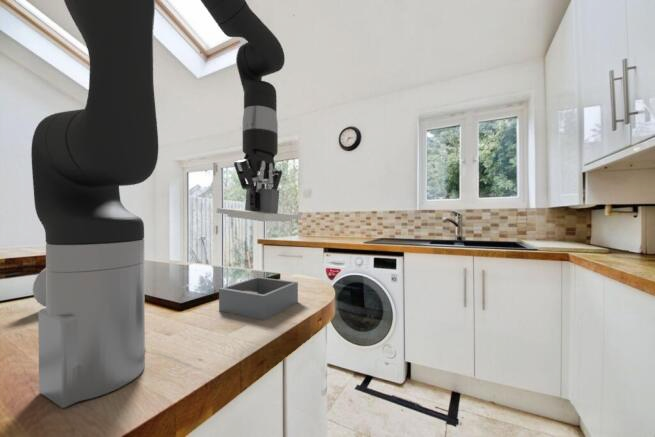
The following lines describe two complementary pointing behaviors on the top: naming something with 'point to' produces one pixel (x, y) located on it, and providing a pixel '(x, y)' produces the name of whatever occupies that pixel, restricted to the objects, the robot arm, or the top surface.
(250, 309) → the box
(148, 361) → the top surface
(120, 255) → the robot arm
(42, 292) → the donut
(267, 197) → the lid
